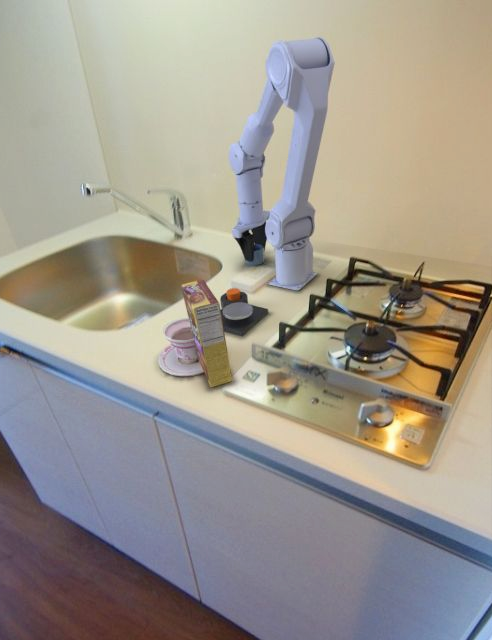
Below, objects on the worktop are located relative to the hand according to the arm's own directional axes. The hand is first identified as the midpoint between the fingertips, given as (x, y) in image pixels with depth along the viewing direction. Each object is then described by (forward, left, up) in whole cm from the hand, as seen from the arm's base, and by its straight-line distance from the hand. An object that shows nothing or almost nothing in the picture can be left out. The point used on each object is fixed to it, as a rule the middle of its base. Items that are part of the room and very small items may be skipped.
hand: (254, 256), depth 110 cm
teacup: (+42, +12, -2) cm, 44 cm away
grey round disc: (+28, +14, +1) cm, 31 cm away
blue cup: (0, 0, -2) cm, 2 cm away
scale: (+27, +13, -2) cm, 29 cm away
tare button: (+23, +9, +1) cm, 25 cm away
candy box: (+43, +19, -2) cm, 47 cm away
